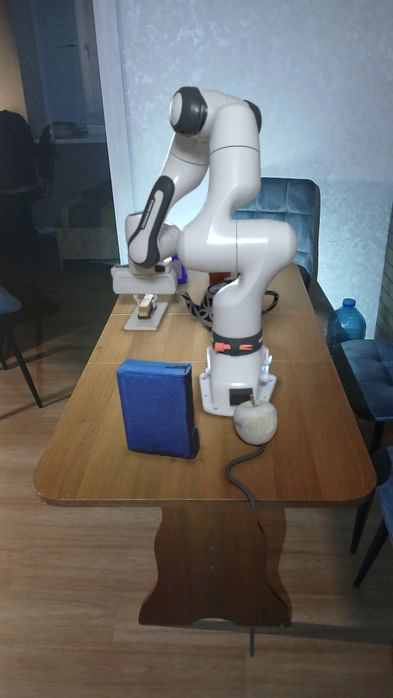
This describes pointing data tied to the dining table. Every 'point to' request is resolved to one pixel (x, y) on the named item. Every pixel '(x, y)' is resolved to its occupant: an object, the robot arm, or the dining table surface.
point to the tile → (147, 323)
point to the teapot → (206, 305)
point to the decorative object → (255, 421)
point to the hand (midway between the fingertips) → (147, 306)
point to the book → (158, 407)
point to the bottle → (179, 269)
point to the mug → (219, 277)
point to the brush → (146, 307)
